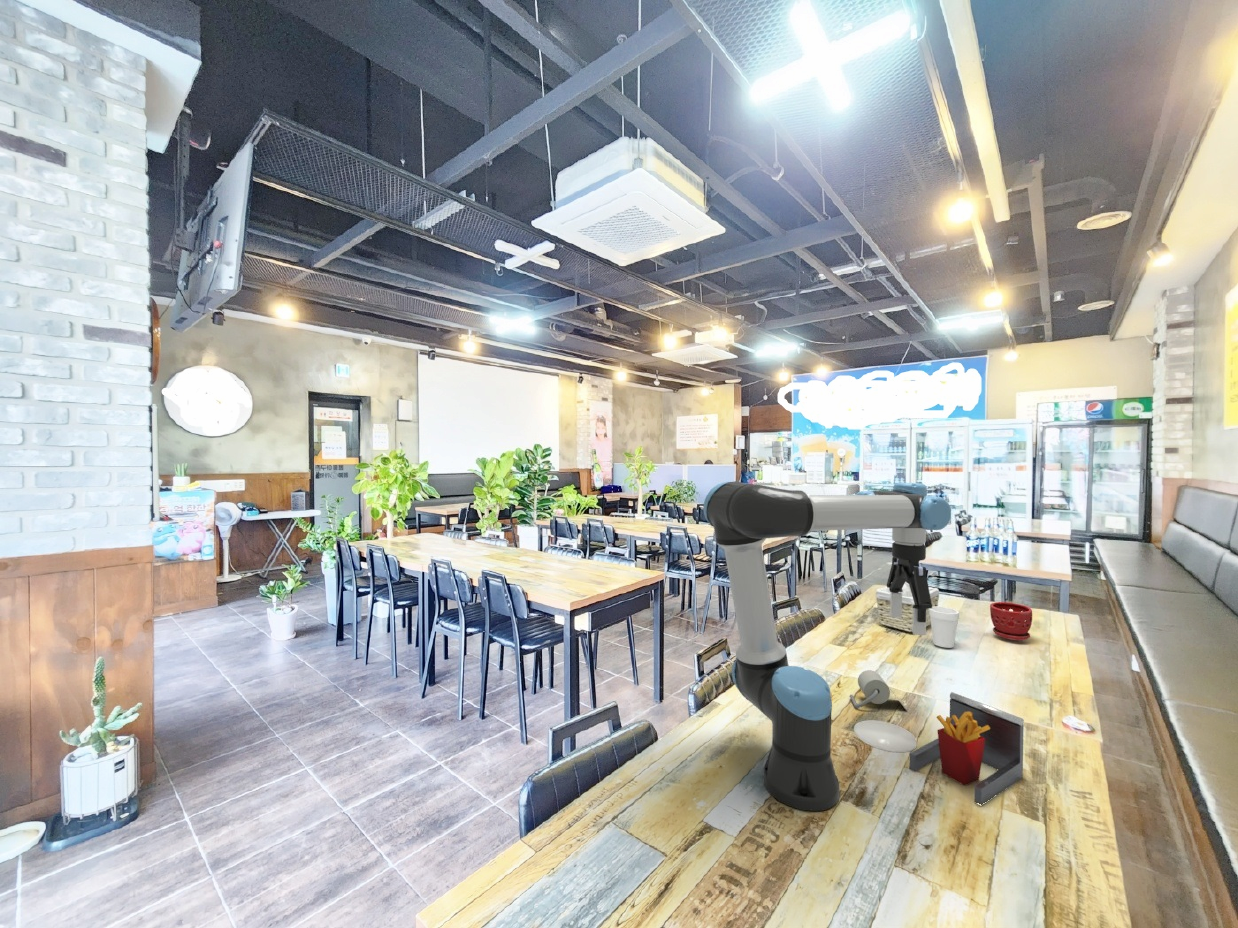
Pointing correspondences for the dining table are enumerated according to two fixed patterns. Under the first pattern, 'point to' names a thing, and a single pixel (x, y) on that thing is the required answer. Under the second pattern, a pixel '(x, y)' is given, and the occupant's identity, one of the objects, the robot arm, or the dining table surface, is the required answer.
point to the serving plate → (885, 736)
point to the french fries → (961, 748)
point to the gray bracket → (985, 746)
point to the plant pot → (1011, 620)
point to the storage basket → (907, 607)
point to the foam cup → (943, 625)
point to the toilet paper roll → (872, 688)
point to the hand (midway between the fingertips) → (906, 625)
